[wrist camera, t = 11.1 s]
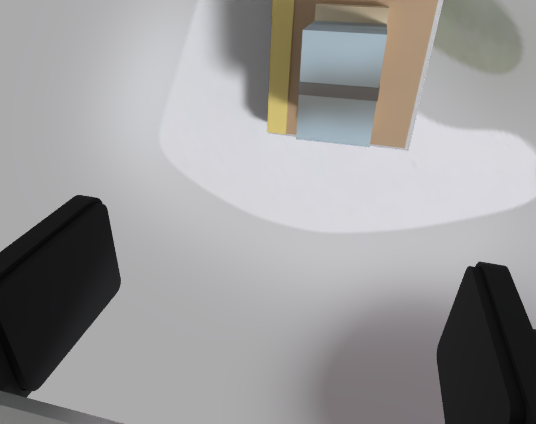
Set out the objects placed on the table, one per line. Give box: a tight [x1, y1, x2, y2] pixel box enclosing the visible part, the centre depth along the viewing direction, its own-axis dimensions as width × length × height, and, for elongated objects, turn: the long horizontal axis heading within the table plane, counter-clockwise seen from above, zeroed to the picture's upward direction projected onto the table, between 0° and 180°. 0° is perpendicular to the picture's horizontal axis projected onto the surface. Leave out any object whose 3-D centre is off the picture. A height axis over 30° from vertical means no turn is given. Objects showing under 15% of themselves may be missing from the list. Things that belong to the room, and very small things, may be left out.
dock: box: [267, 0, 443, 151], centre depth 33 cm, size 12×12×3 cm
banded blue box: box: [296, 4, 389, 147], centre depth 29 cm, size 9×5×6 cm, turn 178°
